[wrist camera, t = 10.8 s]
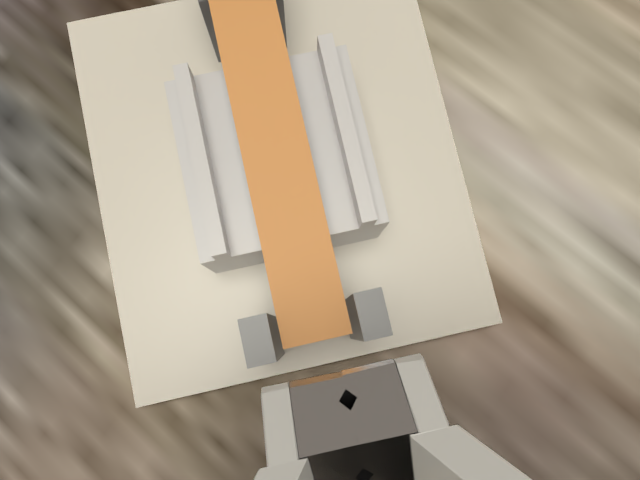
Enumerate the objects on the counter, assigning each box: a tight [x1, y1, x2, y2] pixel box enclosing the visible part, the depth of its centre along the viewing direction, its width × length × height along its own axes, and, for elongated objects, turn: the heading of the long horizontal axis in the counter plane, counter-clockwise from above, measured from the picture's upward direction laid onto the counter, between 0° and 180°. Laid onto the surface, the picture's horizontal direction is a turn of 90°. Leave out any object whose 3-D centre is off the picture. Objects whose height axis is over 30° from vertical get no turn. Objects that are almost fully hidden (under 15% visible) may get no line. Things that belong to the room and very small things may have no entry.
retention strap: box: [208, 0, 353, 349], centre depth 27 cm, size 18×3×1 cm, turn 13°
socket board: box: [67, 0, 502, 408], centre depth 30 cm, size 20×22×11 cm
